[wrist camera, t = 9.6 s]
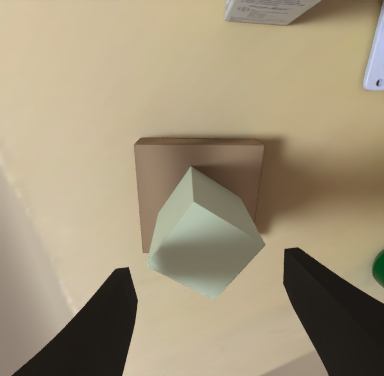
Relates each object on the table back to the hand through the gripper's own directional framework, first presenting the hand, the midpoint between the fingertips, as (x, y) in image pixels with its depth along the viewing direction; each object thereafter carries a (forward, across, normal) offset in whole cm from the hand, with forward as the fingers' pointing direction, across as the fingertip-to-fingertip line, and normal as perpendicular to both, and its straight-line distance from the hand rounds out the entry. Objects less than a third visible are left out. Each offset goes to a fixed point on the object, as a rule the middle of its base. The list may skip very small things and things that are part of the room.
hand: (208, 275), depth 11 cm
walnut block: (+10, 0, 0) cm, 10 cm away
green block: (+8, 0, 0) cm, 8 cm away
